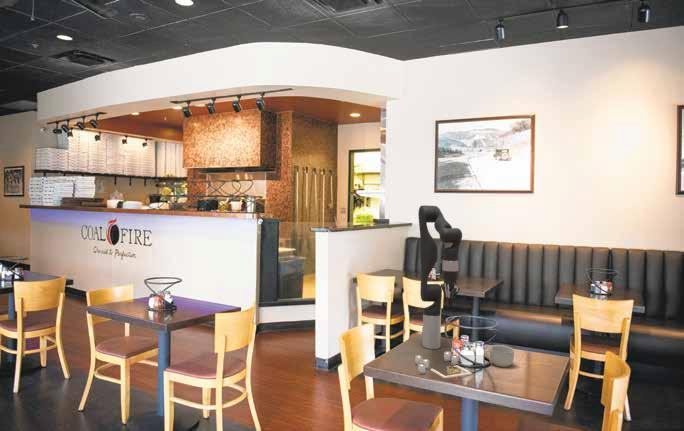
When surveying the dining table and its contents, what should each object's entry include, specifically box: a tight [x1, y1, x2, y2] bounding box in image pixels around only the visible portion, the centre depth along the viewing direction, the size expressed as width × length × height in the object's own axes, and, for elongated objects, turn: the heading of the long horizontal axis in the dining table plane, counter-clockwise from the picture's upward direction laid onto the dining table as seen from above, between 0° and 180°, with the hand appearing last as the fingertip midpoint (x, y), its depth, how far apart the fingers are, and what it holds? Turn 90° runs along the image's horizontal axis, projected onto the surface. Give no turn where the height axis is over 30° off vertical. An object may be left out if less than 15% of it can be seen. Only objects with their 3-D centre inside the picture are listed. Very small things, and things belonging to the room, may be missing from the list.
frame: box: [429, 364, 473, 380], centre depth 217 cm, size 11×14×1 cm
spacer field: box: [414, 350, 458, 376], centre depth 225 cm, size 14×28×4 cm, turn 112°
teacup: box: [483, 344, 515, 368], centre depth 228 cm, size 14×11×8 cm
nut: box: [446, 365, 460, 375], centre depth 217 cm, size 6×5×3 cm
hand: (449, 305), depth 233 cm, fingers closed
